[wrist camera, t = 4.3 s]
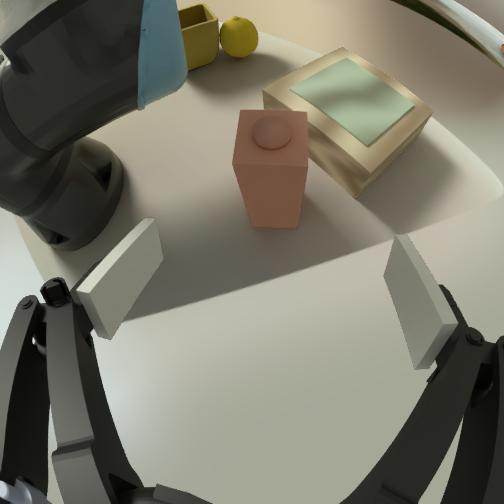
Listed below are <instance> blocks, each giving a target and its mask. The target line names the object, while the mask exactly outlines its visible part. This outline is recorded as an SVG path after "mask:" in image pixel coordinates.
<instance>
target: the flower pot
mask: <svg viewBox="0 0 504 504" xmlns="http://www.w3.org/2000/svg"><path fill="white" fill-rule="evenodd" d="M178 14H179V20H180V25H181V31H182V37H183V42H184V48H185V54H186V61H187V68H188V71H189V70H192V69H194V68H197V67H200V66H203V65H206V64H209V63H212V62H213V61H214V59H215V57H216V55H217V53H218V50H219V26H218V18H217V17H216V16H215V14H214V13H213V12H212V11H211V10H210V9H209V8H208V6H207V5H206V4H205V3H201V4H197V5H193V6H190V7H186V8H183V9H180V10H178Z"/></svg>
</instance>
